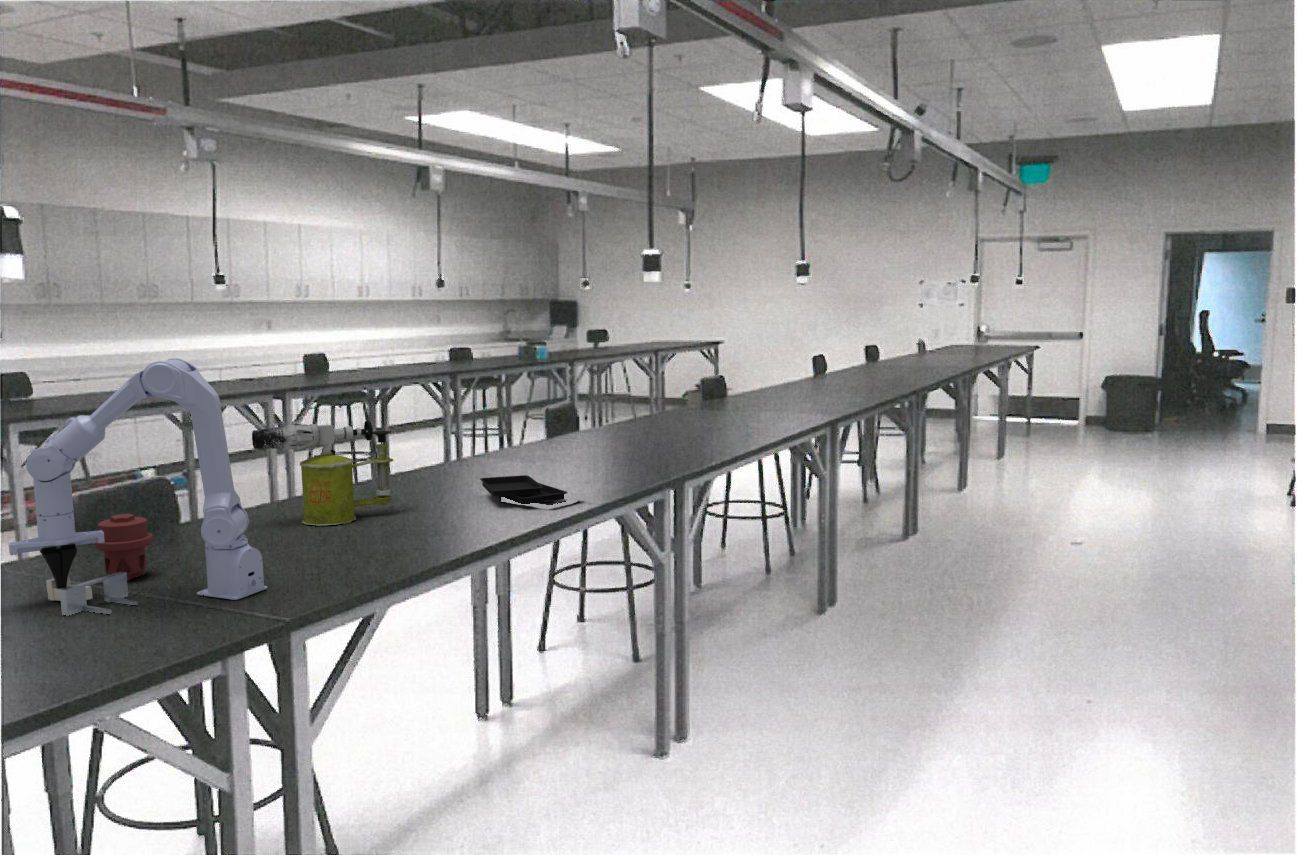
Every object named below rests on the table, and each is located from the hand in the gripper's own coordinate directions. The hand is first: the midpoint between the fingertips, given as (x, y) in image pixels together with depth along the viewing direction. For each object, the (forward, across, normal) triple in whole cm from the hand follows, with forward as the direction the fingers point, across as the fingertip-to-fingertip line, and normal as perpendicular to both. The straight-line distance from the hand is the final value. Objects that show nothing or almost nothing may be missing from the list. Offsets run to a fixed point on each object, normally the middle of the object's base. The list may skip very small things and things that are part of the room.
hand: (61, 587), depth 176 cm
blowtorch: (+3, +62, +32) cm, 70 cm away
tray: (+3, +111, +20) cm, 113 cm away
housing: (+3, +5, -10) cm, 12 cm away
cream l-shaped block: (+2, +1, -1) cm, 2 cm away
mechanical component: (+3, +12, +9) cm, 15 cm away
